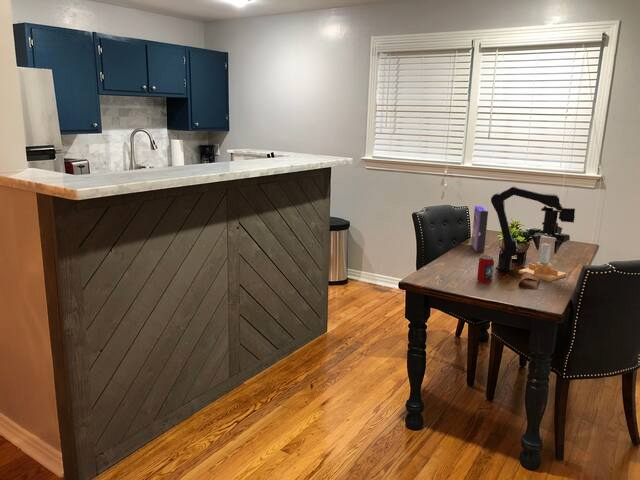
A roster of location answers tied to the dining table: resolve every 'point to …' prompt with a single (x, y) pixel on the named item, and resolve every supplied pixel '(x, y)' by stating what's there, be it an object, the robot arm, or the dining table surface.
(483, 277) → the beverage can
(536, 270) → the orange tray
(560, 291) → the dining table surface
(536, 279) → the sunglasses case
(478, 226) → the cereal box
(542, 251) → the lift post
